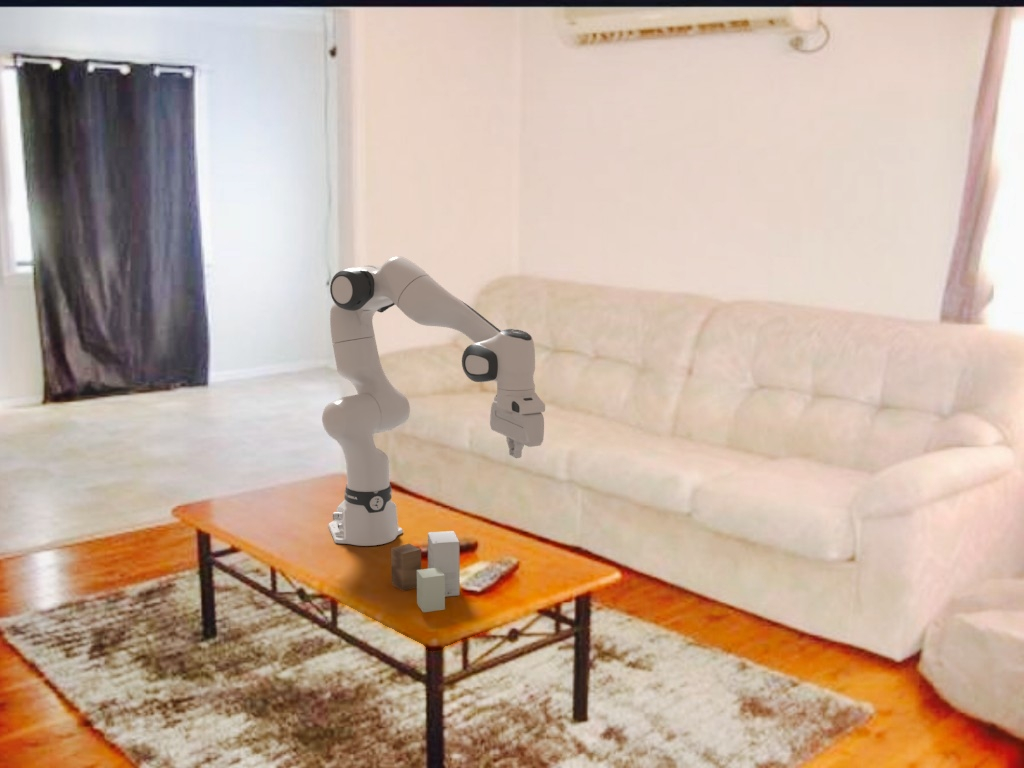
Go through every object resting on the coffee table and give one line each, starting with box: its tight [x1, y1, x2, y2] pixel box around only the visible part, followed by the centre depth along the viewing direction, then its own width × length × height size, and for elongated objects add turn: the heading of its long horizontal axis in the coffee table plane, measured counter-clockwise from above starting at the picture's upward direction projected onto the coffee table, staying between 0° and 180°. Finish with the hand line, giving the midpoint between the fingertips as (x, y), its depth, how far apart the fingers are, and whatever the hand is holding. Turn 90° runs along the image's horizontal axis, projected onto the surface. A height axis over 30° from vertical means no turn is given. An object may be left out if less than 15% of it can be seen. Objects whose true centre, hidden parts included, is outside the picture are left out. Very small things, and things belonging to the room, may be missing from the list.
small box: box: [427, 530, 461, 598], centre depth 238 cm, size 8×6×13 cm
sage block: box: [416, 567, 446, 613], centre depth 229 cm, size 5×5×8 cm
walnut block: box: [390, 543, 422, 592], centre depth 241 cm, size 5×5×9 cm
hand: (515, 456), depth 244 cm, fingers closed
